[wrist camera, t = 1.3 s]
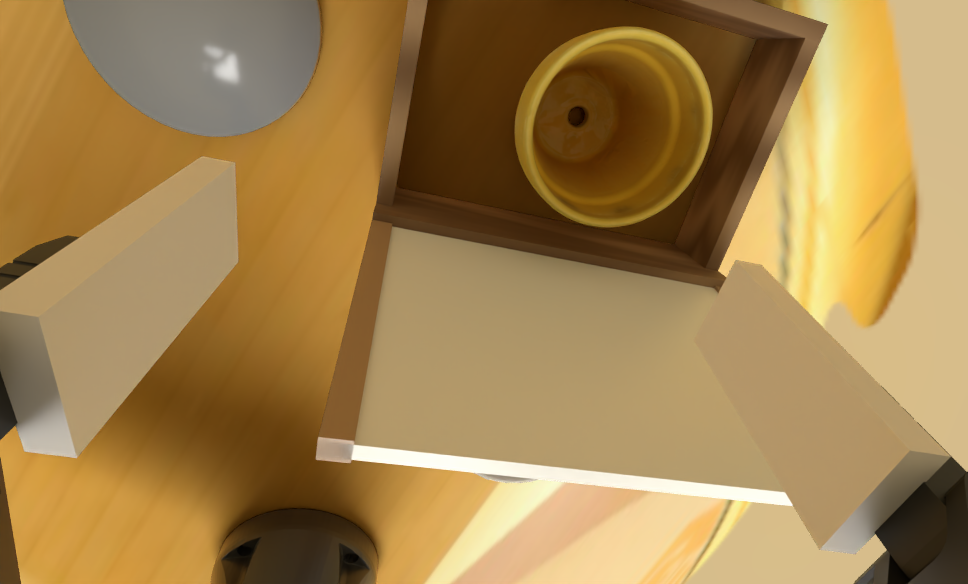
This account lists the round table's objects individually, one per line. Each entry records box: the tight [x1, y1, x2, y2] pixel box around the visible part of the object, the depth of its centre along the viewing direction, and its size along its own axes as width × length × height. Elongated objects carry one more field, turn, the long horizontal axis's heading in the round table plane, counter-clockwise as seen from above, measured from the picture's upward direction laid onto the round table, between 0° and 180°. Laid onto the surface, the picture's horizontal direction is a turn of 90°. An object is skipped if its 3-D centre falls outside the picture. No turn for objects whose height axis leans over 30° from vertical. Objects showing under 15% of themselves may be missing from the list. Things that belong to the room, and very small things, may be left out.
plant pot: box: [515, 26, 713, 227], centre depth 32 cm, size 10×10×10 cm
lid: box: [316, 220, 793, 506], centre depth 27 cm, size 4×24×16 cm, turn 77°
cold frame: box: [372, 0, 828, 288], centre depth 33 cm, size 17×24×7 cm
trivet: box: [63, 0, 322, 137], centre depth 31 cm, size 14×14×1 cm
